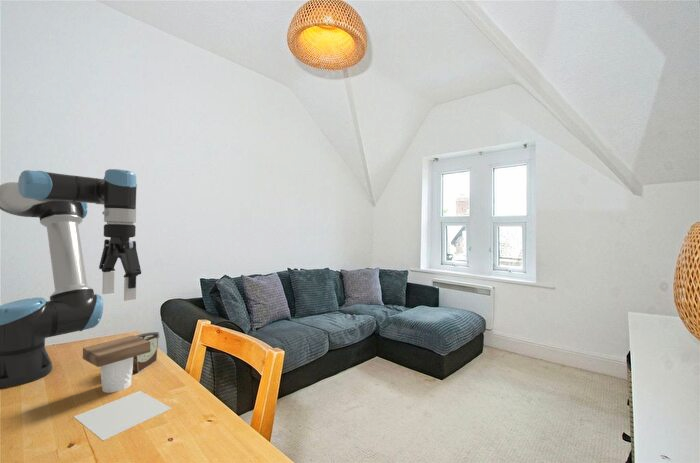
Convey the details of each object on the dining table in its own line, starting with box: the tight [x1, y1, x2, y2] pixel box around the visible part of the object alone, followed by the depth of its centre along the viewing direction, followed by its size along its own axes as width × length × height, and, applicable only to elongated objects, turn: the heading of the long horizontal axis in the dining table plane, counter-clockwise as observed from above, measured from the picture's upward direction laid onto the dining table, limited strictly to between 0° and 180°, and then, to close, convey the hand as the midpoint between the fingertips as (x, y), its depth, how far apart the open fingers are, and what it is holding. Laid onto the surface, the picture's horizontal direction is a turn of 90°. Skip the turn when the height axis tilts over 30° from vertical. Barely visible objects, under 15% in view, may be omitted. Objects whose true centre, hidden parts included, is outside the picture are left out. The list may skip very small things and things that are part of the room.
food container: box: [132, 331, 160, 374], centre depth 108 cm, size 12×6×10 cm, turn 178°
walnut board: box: [82, 335, 150, 368], centre depth 92 cm, size 10×13×3 cm
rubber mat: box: [73, 390, 173, 441], centre depth 80 cm, size 16×15×1 cm
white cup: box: [100, 357, 134, 394], centre depth 92 cm, size 8×8×10 cm
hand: (118, 296), depth 93 cm, fingers open, 13 cm apart
